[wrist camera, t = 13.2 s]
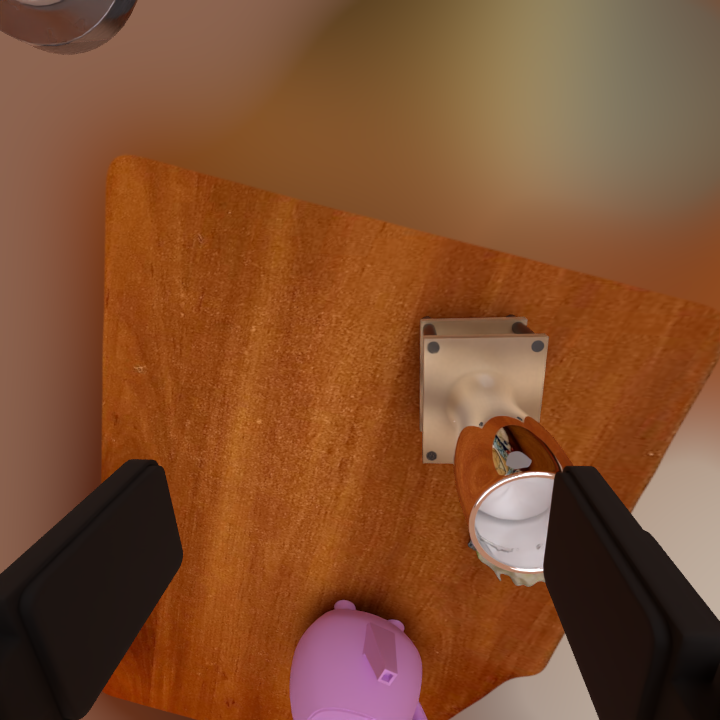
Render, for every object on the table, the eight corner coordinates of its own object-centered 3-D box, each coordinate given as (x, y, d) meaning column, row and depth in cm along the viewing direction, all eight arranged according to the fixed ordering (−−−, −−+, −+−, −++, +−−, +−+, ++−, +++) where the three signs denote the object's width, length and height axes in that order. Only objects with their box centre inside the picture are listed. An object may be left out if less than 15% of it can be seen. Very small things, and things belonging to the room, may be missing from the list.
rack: (419, 314, 43) (423, 338, 34) (519, 312, 42) (549, 336, 33) (418, 418, 47) (422, 463, 38) (510, 418, 46) (535, 465, 37)
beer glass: (484, 349, 34) (542, 443, 20) (539, 404, 35) (632, 529, 21) (423, 404, 36) (437, 523, 22) (477, 453, 37) (524, 597, 23)
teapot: (472, 608, 55) (497, 744, 41) (408, 696, 62) (411, 838, 48) (336, 554, 54) (313, 673, 40) (286, 649, 61) (252, 780, 47)
